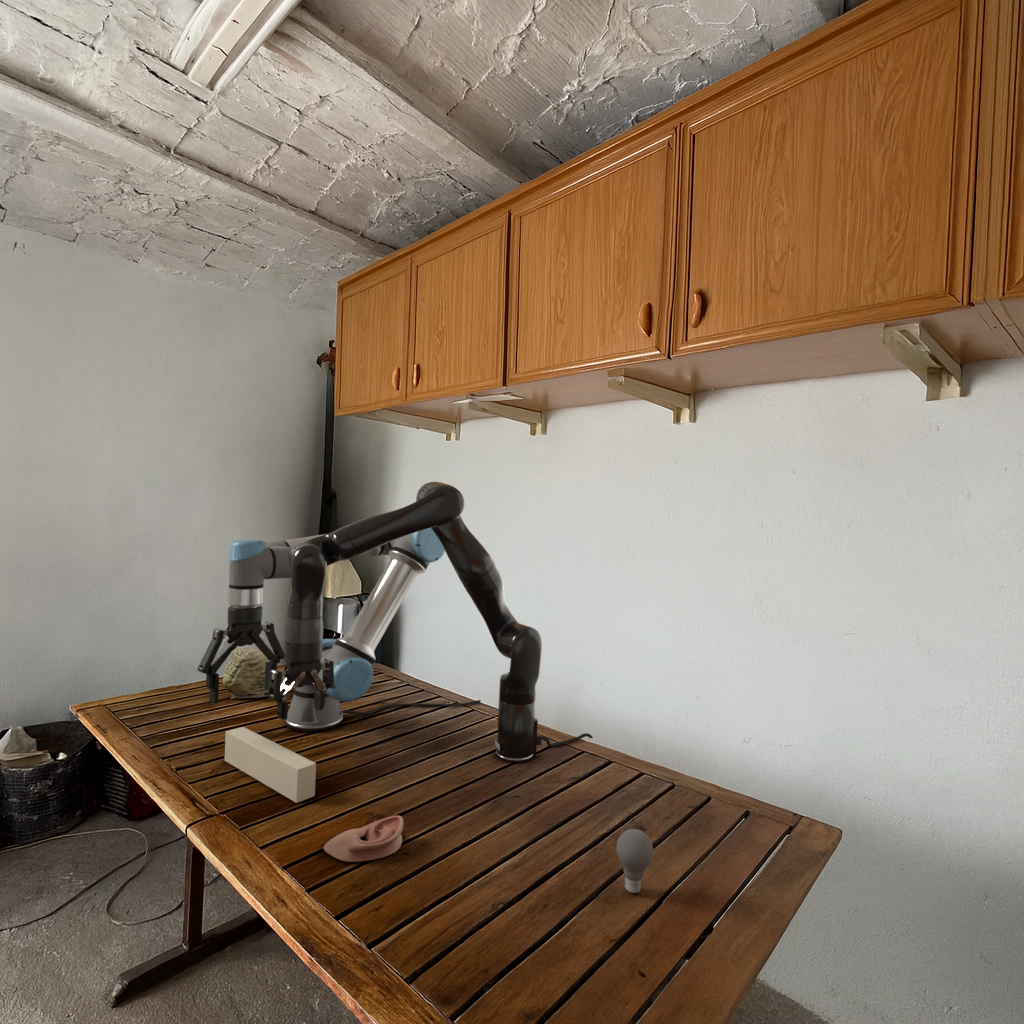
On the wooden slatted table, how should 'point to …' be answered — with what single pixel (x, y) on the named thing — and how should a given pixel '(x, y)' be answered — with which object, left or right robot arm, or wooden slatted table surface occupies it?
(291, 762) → the beam
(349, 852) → the anatomical model
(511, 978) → the wooden slatted table surface
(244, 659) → the fossil
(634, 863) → the light bulb
